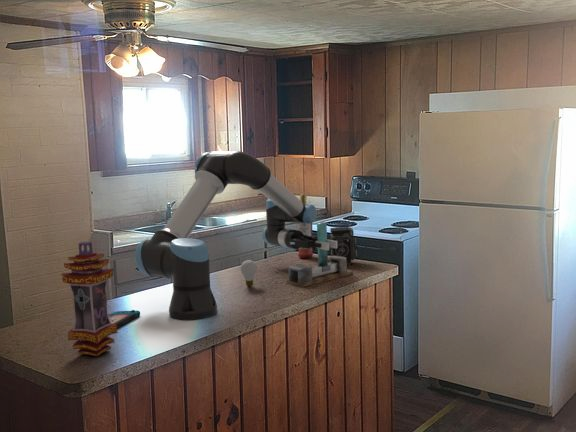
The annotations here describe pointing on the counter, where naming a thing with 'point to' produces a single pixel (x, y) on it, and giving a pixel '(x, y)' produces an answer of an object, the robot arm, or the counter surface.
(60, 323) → the counter surface
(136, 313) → the gaming console
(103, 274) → the lantern
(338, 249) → the camera
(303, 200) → the liquor
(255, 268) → the light bulb
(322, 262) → the tube
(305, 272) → the bench
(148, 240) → the robot arm
